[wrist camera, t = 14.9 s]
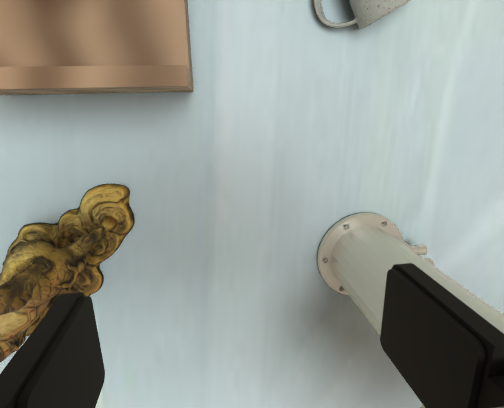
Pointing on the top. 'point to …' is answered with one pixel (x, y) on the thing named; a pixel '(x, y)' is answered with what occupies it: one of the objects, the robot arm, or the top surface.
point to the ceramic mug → (362, 11)
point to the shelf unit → (94, 46)
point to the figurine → (59, 260)
